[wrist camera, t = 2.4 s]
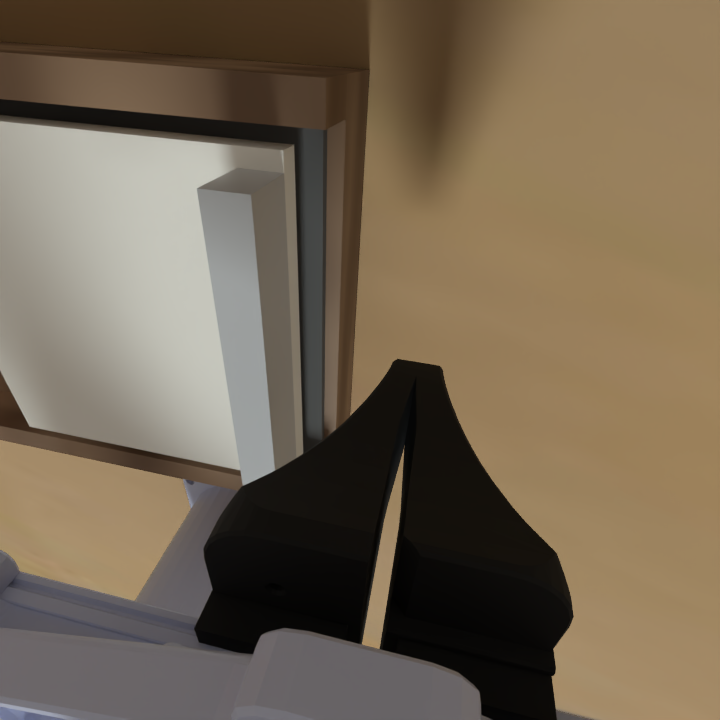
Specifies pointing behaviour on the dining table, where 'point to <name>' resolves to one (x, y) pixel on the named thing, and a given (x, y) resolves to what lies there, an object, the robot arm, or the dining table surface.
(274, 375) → the sliding door
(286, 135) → the panel
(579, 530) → the dining table surface
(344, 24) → the dining table surface
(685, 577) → the dining table surface
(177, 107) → the tray
